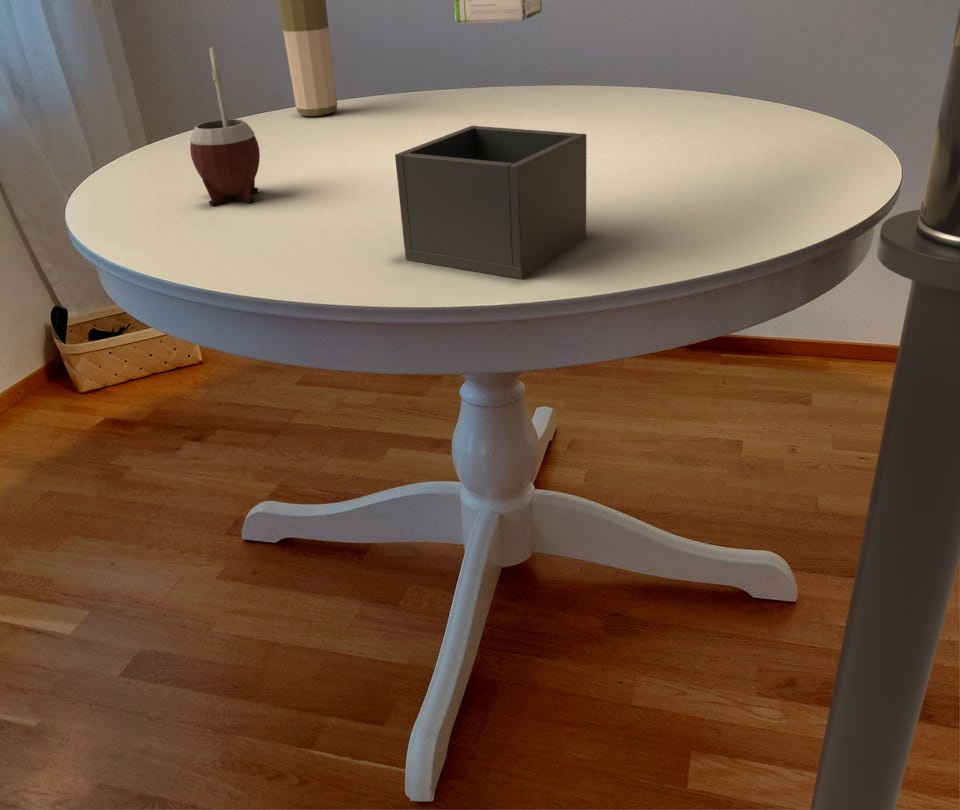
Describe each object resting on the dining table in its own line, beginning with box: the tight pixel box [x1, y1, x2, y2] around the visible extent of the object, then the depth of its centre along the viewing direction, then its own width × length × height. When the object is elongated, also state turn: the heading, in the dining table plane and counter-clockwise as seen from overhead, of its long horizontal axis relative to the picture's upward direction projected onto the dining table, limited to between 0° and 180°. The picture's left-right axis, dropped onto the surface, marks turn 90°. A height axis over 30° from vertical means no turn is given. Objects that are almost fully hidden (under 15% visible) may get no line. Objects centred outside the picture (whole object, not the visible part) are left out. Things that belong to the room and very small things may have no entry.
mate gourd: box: [189, 46, 261, 207], centre depth 94 cm, size 8×8×15 cm
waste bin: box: [394, 125, 587, 280], centre depth 75 cm, size 12×12×9 cm
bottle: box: [277, 0, 338, 118], centre depth 131 cm, size 7×7×30 cm
